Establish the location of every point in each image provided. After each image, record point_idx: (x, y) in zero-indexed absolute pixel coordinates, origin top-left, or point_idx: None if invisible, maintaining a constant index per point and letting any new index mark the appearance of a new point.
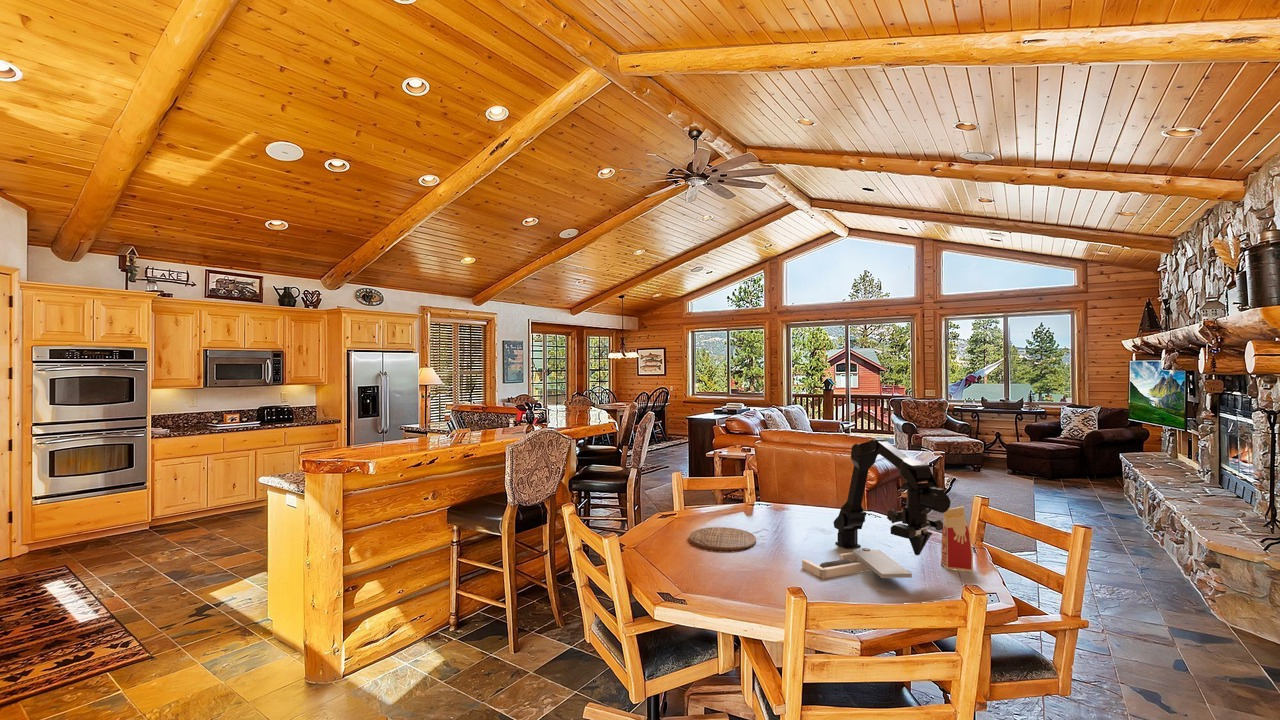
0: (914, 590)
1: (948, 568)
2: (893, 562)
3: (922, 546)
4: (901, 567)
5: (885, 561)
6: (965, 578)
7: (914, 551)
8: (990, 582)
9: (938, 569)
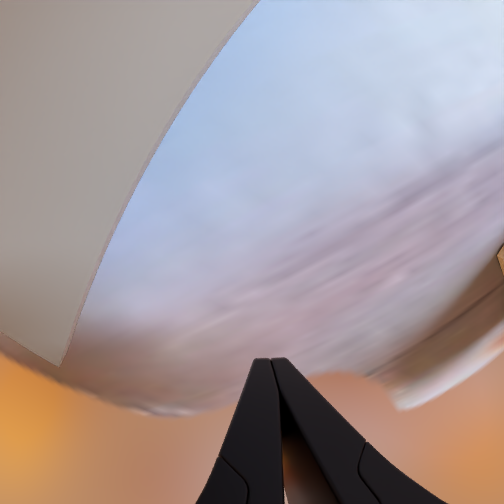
0: (93, 320)
1: (500, 259)
2: (112, 152)
3: (286, 495)
4: (73, 273)
5: (72, 93)
6: (437, 346)
7: (243, 391)
8: (439, 392)
9: (482, 228)
